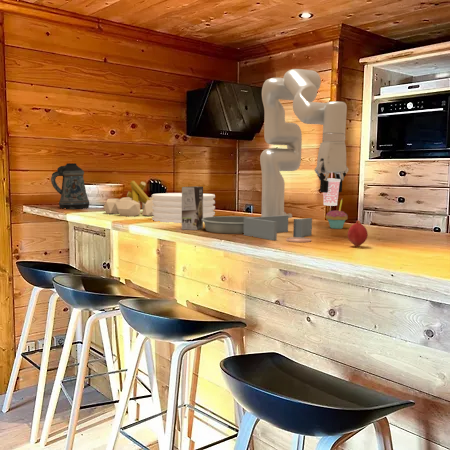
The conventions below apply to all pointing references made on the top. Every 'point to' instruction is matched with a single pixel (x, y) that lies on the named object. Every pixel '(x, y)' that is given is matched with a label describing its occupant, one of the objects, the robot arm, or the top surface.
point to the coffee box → (192, 208)
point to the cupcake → (336, 218)
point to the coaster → (298, 239)
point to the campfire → (131, 202)
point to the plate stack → (177, 207)
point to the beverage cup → (331, 192)
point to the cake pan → (225, 224)
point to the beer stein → (71, 187)
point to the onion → (357, 234)
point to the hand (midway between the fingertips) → (330, 191)
